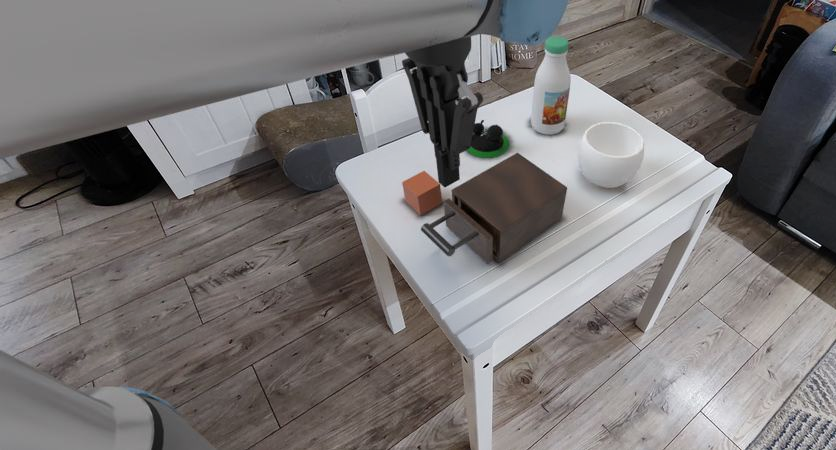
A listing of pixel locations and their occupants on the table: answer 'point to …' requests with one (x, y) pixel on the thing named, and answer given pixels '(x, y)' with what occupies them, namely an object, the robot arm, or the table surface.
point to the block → (422, 192)
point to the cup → (610, 154)
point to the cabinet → (514, 202)
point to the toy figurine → (488, 141)
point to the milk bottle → (551, 88)
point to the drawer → (464, 231)
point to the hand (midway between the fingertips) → (449, 180)
